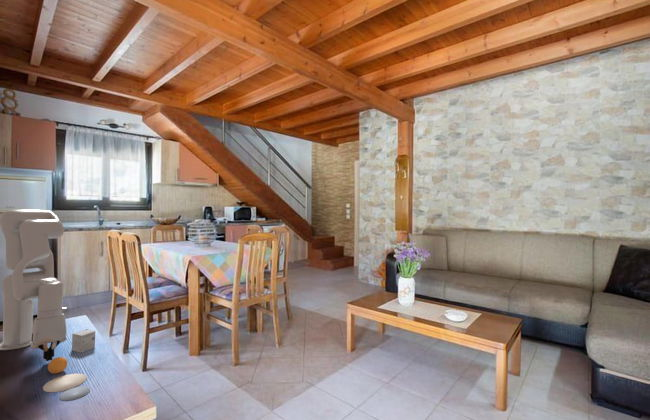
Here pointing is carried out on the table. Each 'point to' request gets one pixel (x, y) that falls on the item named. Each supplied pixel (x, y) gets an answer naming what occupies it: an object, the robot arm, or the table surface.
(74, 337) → the skincare box
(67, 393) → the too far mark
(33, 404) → the table surface
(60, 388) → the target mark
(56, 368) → the ball
